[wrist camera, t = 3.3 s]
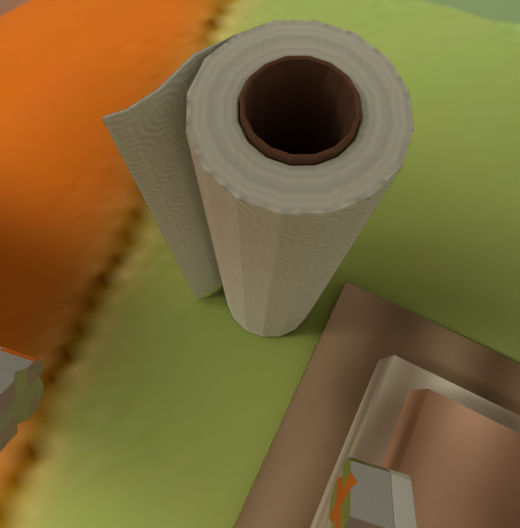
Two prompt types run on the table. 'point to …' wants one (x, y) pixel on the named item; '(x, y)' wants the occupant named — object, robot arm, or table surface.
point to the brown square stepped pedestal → (396, 422)
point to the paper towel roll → (268, 162)
